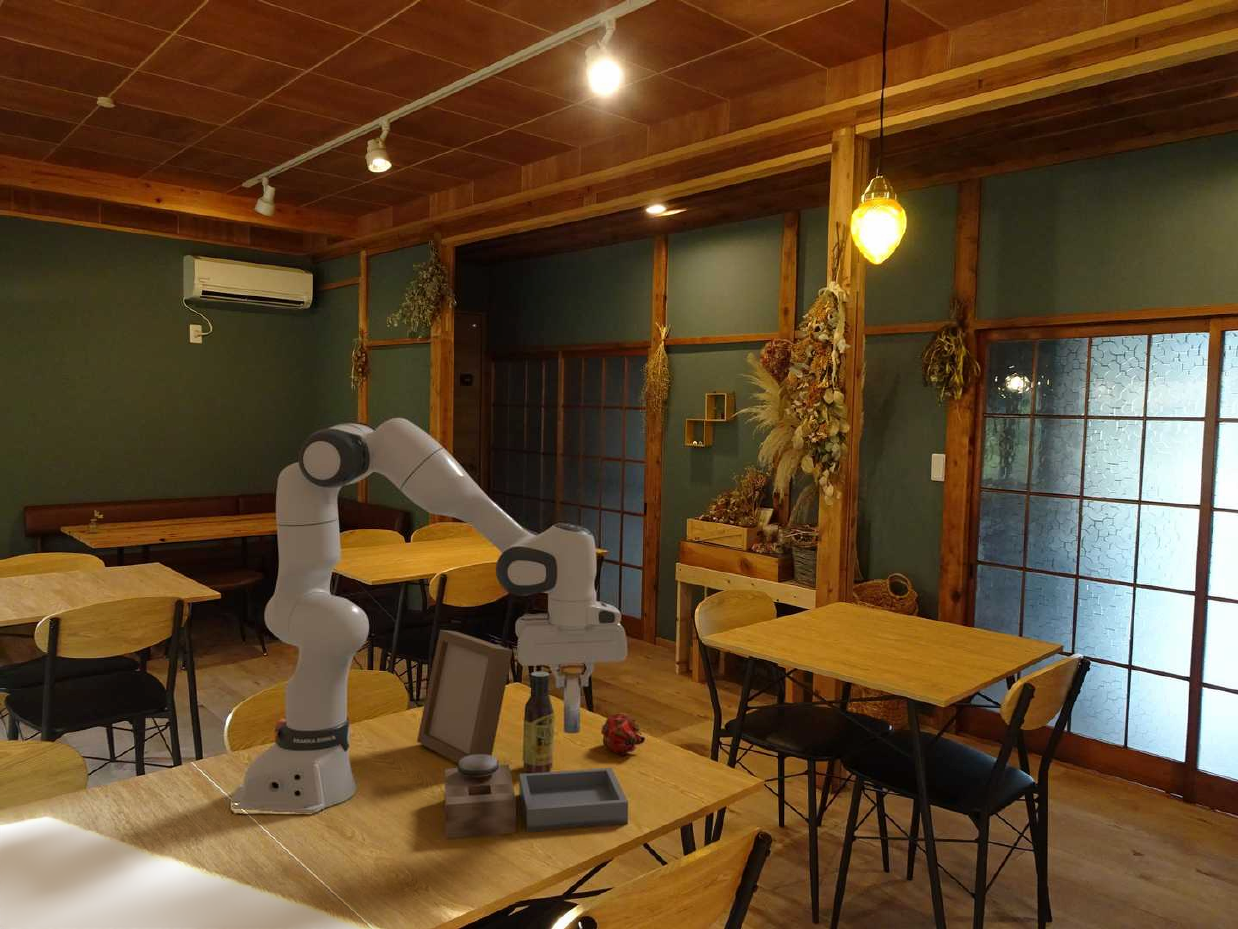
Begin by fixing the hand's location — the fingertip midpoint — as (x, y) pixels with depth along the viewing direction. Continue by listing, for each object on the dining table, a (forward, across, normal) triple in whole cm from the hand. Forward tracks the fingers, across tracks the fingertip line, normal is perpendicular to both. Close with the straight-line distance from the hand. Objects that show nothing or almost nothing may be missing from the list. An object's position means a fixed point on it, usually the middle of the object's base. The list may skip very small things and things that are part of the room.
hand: (572, 686), depth 167 cm
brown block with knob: (+23, -17, 0) cm, 29 cm away
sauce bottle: (+23, -4, +20) cm, 31 cm away
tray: (+23, 0, 0) cm, 23 cm away
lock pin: (+8, 0, 0) cm, 8 cm away
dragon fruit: (+23, +15, +27) cm, 39 cm away
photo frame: (+23, -17, +32) cm, 43 cm away
